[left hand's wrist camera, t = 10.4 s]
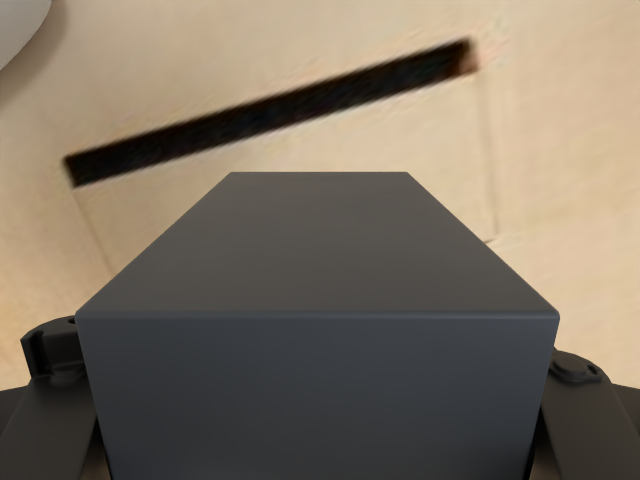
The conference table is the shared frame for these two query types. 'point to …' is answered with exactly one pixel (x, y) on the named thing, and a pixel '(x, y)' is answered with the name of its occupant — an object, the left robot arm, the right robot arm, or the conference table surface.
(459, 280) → the bar
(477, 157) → the conference table surface
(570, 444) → the left robot arm
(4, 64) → the projector
